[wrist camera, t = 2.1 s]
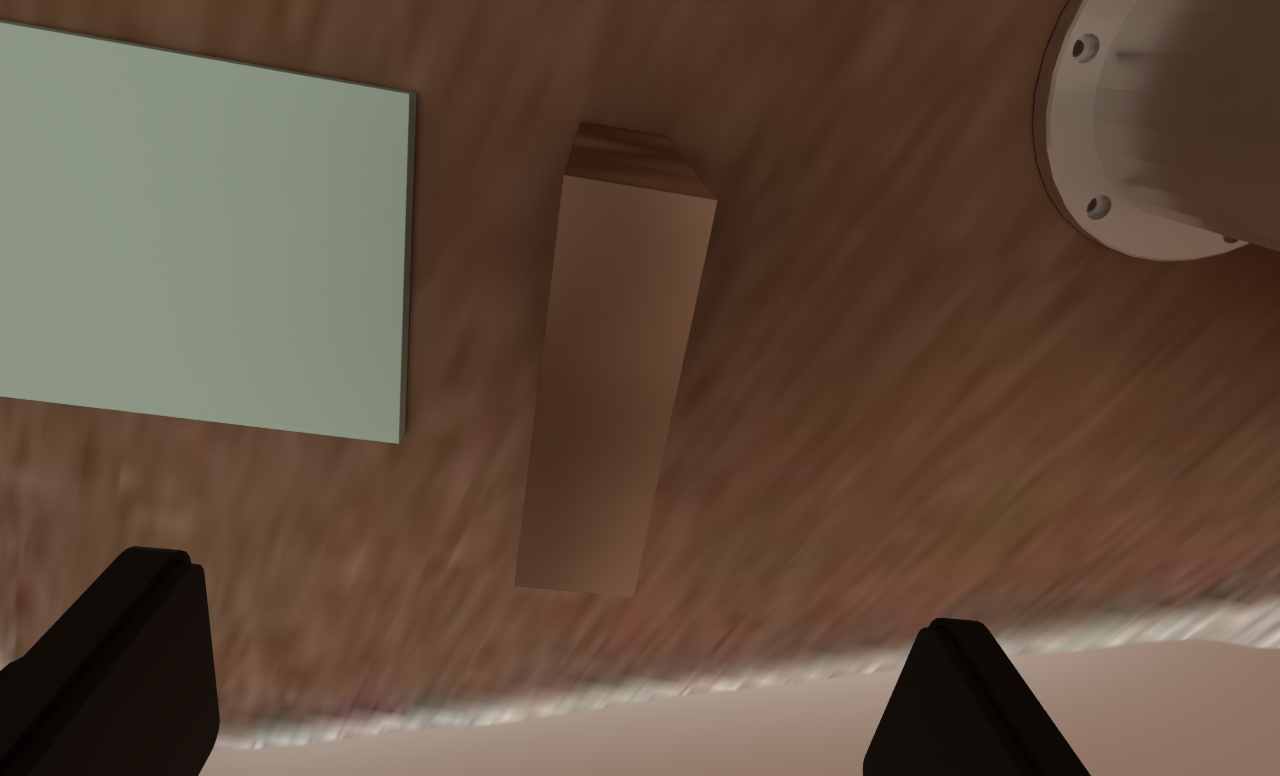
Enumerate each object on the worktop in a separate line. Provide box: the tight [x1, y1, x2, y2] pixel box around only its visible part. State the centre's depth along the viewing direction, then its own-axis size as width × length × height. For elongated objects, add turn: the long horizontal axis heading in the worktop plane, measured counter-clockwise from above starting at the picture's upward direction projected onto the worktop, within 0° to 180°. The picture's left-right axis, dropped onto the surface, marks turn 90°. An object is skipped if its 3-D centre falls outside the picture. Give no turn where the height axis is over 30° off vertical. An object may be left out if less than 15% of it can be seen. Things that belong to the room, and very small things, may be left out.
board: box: [514, 121, 718, 597], centre depth 21 cm, size 3×10×12 cm, turn 170°
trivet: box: [0, 20, 417, 444], centre depth 25 cm, size 20×13×1 cm, turn 80°
